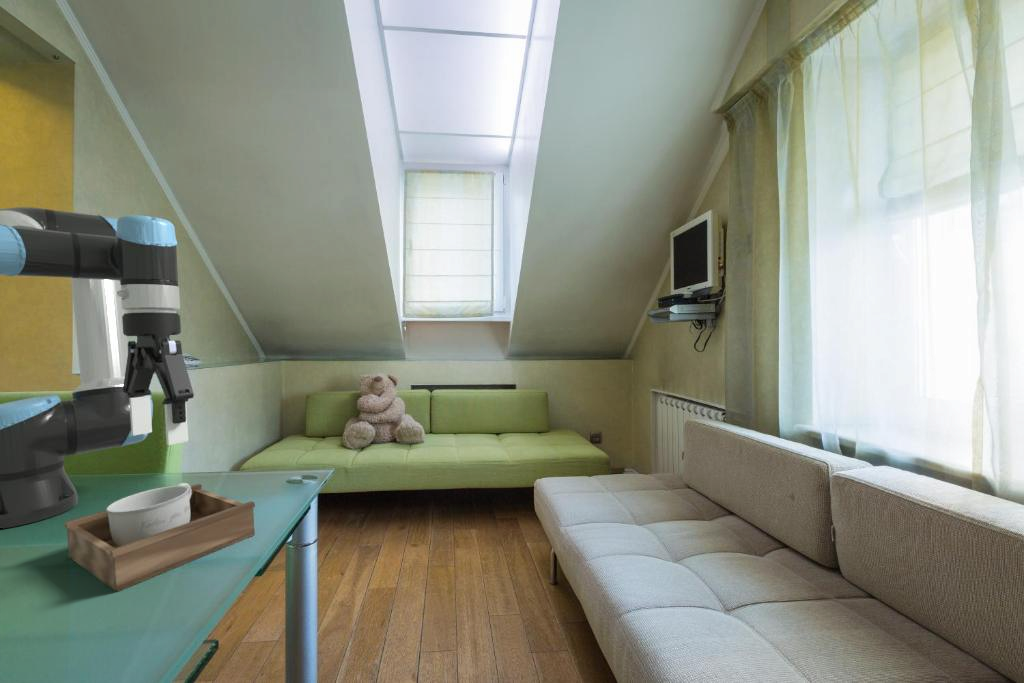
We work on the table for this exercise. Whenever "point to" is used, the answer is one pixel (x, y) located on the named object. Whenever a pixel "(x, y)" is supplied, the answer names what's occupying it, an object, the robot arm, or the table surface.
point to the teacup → (149, 513)
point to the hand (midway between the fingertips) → (159, 438)
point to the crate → (159, 540)
